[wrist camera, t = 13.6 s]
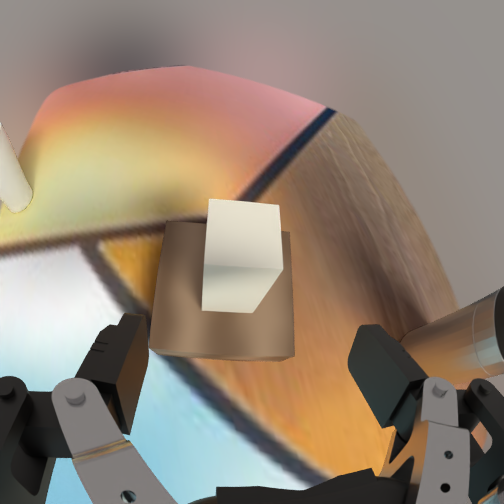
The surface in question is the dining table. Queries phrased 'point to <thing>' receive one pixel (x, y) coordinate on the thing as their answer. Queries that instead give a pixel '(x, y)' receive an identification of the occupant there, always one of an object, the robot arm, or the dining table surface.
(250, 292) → the offwhite block
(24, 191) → the drinking glass
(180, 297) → the walnut box
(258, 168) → the dining table surface
